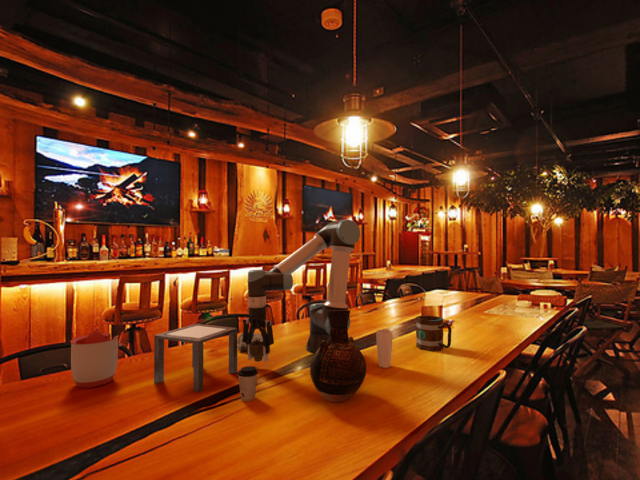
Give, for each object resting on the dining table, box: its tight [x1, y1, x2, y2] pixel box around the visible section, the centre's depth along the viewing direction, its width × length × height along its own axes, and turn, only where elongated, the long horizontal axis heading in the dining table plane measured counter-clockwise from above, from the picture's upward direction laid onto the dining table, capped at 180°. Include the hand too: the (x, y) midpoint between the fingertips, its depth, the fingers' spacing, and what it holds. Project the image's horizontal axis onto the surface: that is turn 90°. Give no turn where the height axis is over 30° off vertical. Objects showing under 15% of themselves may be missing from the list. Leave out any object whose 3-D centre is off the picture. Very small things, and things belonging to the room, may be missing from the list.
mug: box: [415, 315, 453, 352], centre depth 175 cm, size 20×14×15 cm
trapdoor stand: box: [153, 323, 238, 393], centre depth 138 cm, size 22×22×18 cm
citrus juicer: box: [70, 329, 123, 389], centre depth 134 cm, size 16×17×20 cm
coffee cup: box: [237, 365, 259, 402], centre depth 119 cm, size 7×7×10 cm
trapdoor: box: [166, 326, 227, 339], centre depth 138 cm, size 17×16×1 cm
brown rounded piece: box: [249, 340, 265, 362], centre depth 148 cm, size 8×7×8 cm
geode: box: [237, 332, 263, 352], centre depth 176 cm, size 17×9×15 cm
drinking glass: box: [375, 329, 393, 369], centre depth 150 cm, size 7×7×15 cm
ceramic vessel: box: [309, 309, 367, 403], centre depth 119 cm, size 21×18×30 cm
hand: (258, 360), depth 148 cm, fingers closed on brown rounded piece, 7 cm apart
